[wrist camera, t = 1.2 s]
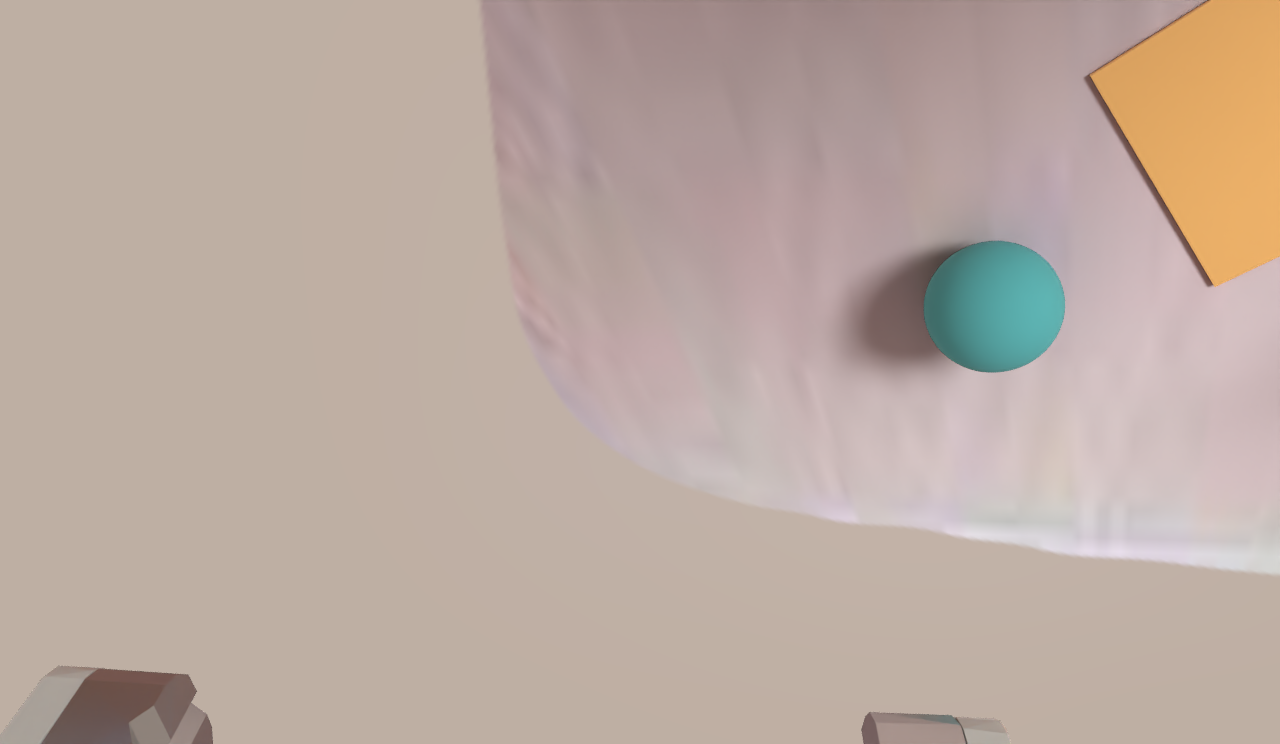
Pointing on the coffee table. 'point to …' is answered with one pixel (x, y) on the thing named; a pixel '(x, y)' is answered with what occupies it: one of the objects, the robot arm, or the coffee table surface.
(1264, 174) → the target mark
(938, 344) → the ball
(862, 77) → the coffee table surface
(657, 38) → the coffee table surface
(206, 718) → the robot arm
